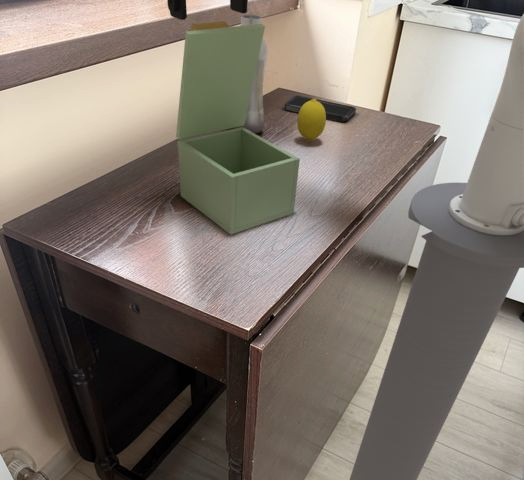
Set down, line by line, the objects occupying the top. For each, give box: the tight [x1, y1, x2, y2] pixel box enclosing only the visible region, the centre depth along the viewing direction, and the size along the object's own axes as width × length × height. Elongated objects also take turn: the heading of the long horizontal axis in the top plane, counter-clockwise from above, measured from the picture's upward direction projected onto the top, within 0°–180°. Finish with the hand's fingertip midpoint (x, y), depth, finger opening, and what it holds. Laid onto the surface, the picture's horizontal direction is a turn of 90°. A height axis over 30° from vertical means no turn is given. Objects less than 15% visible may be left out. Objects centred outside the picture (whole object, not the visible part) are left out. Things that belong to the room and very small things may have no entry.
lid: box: [175, 20, 266, 140], centre depth 73 cm, size 15×12×5 cm
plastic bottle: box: [233, 14, 268, 135], centre depth 97 cm, size 6×7×20 cm
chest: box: [177, 127, 300, 235], centre depth 78 cm, size 14×12×9 cm
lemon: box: [296, 98, 327, 142], centre depth 99 cm, size 6×6×8 cm
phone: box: [284, 95, 357, 123], centre depth 115 cm, size 8×1×15 cm
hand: (209, 14), depth 68 cm, fingers open, 9 cm apart
